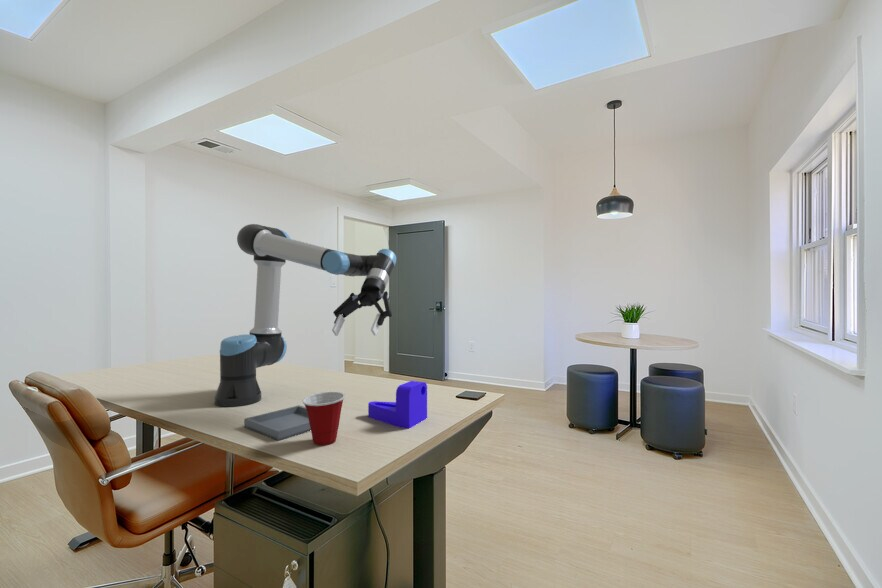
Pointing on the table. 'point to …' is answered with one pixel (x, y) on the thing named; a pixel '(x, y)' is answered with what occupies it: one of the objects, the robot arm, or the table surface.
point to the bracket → (402, 406)
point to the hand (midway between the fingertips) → (353, 332)
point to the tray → (280, 423)
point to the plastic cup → (324, 416)
